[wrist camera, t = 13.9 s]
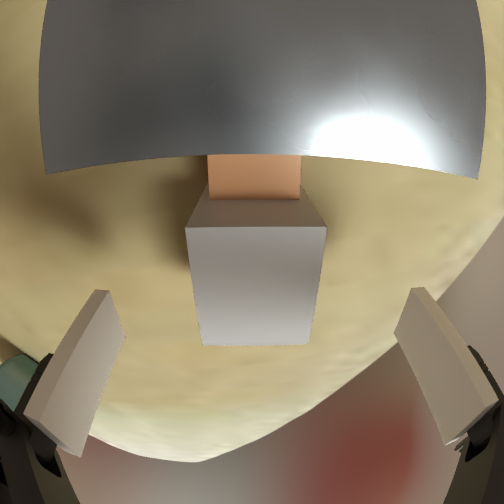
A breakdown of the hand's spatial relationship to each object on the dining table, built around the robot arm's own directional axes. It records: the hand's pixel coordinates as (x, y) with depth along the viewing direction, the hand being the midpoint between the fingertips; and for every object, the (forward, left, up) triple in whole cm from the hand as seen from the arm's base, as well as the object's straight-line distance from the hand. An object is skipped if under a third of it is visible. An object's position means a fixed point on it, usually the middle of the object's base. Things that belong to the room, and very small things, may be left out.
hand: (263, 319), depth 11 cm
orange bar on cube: (-9, 0, -6) cm, 11 cm away
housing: (-11, 0, -6) cm, 13 cm away
